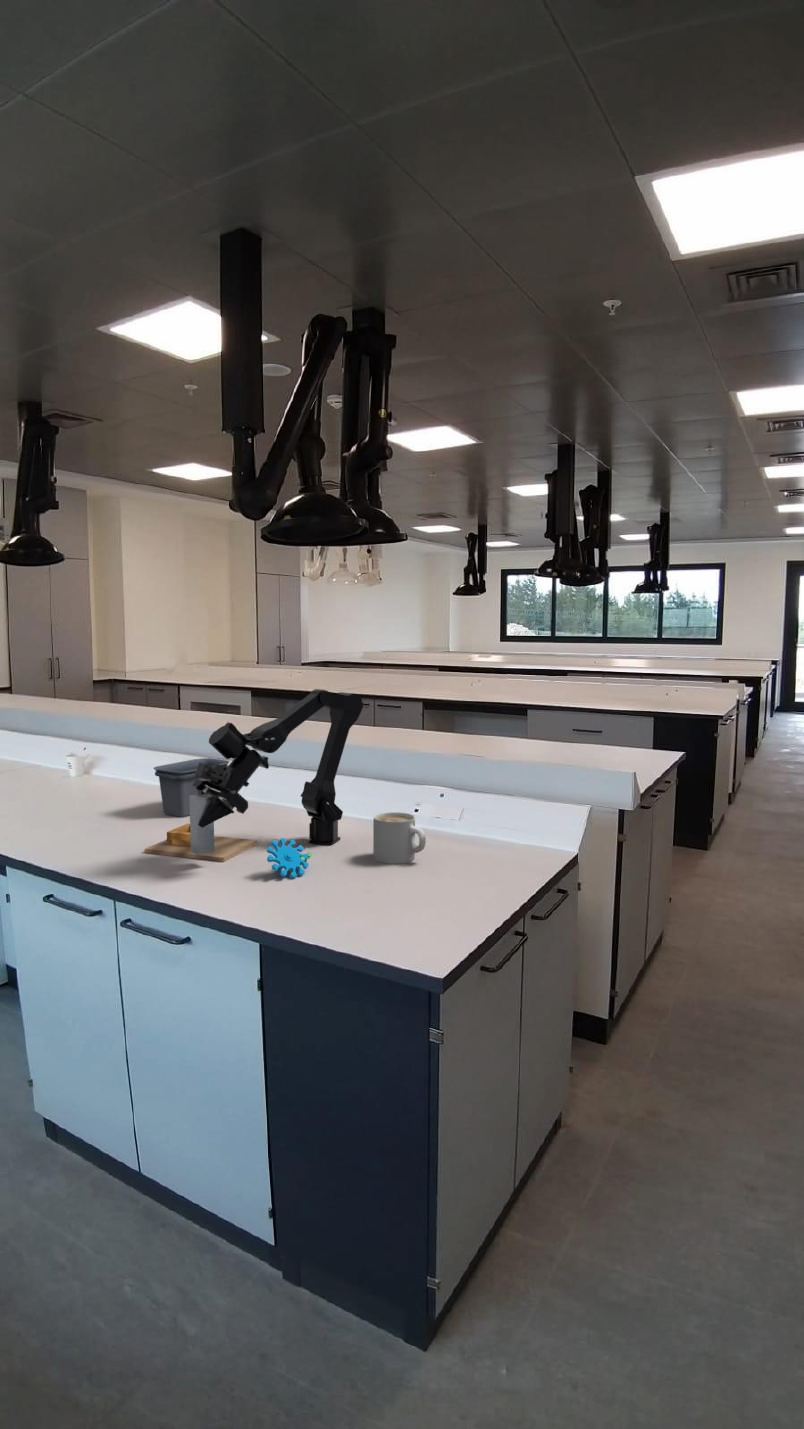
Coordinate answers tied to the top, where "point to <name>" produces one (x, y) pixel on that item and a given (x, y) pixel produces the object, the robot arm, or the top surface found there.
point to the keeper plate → (181, 847)
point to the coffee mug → (396, 838)
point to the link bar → (199, 836)
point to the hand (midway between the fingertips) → (196, 824)
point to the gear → (288, 858)
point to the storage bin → (180, 784)
